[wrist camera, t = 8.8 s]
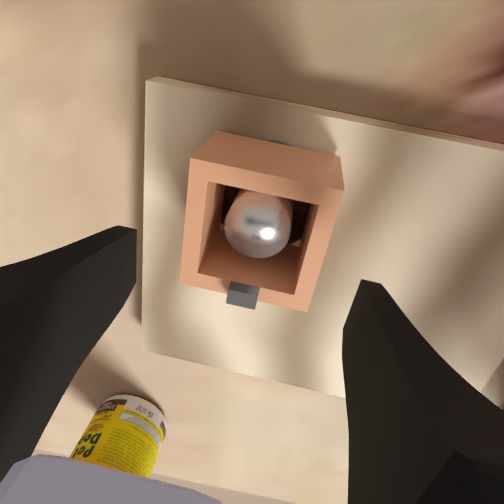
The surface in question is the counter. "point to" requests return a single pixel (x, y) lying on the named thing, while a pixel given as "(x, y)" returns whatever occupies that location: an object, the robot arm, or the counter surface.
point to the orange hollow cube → (269, 182)
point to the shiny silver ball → (261, 220)
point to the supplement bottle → (123, 436)
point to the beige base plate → (331, 239)
